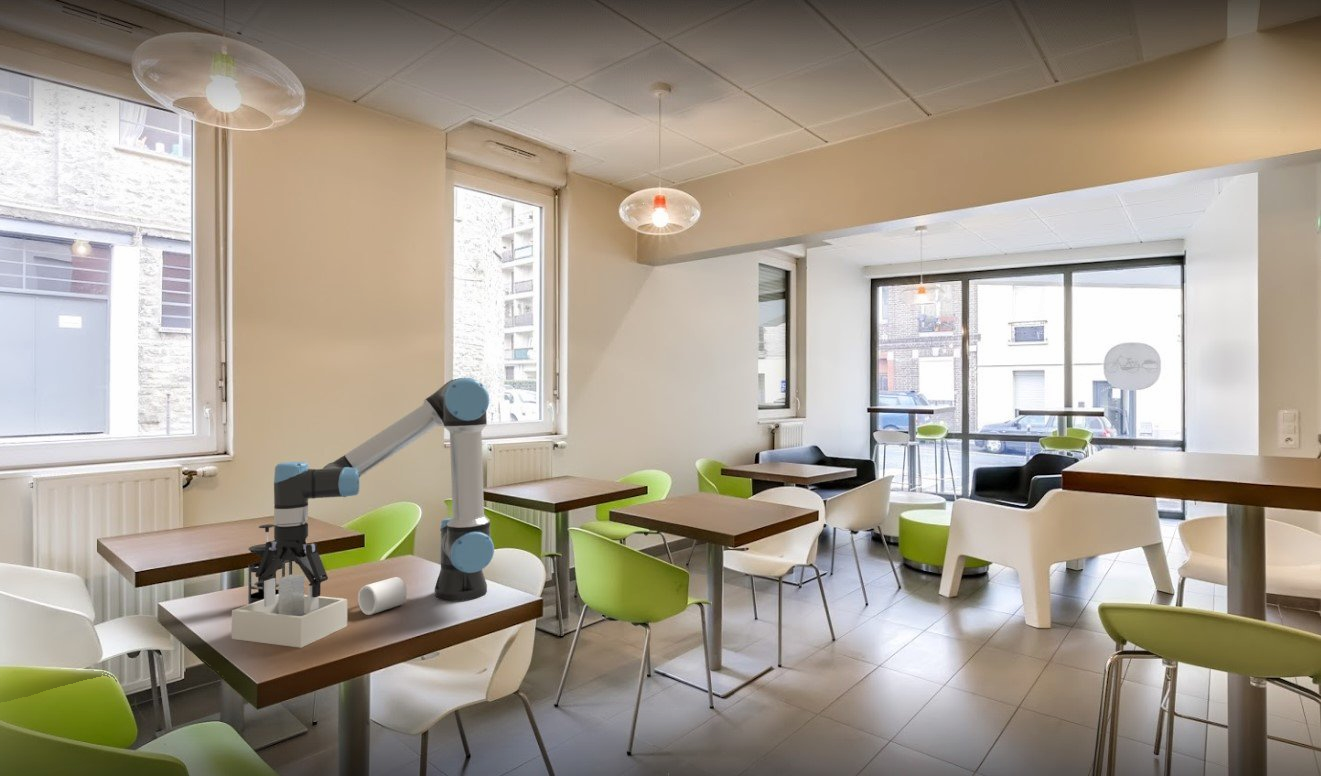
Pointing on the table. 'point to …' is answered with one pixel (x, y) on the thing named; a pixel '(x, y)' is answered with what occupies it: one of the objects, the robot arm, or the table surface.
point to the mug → (382, 595)
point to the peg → (291, 595)
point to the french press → (259, 552)
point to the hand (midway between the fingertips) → (291, 607)
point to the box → (288, 622)
